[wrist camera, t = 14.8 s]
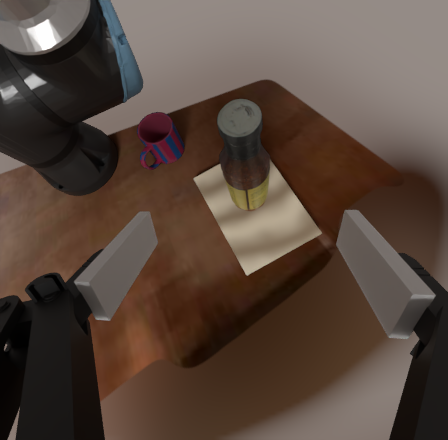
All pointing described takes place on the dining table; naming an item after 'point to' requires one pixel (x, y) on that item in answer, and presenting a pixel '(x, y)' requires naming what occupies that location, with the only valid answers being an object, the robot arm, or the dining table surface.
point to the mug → (159, 139)
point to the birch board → (258, 220)
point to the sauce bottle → (244, 154)
